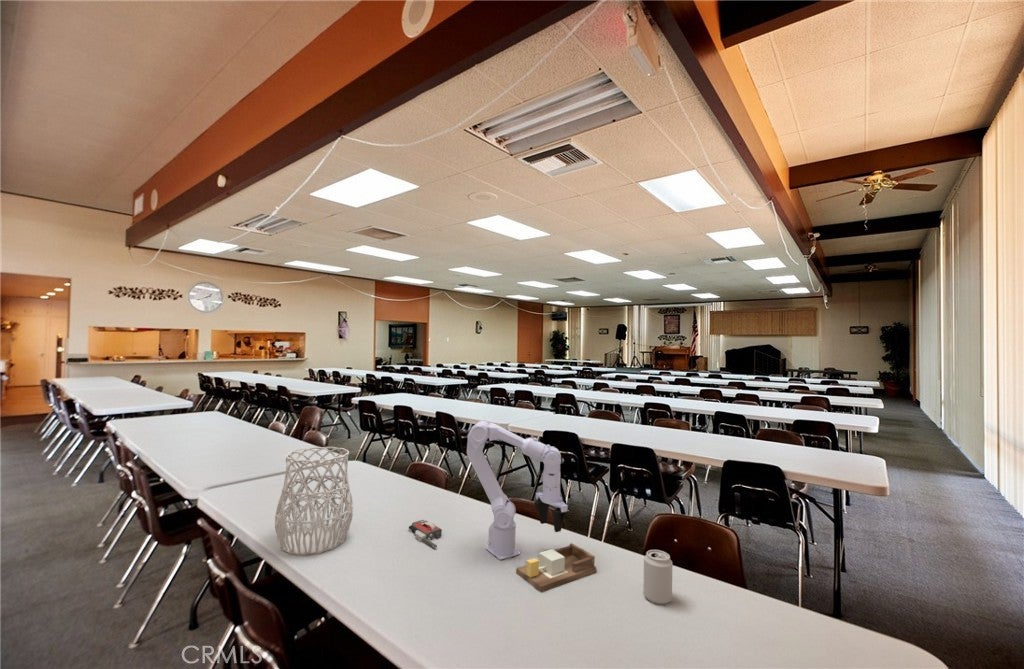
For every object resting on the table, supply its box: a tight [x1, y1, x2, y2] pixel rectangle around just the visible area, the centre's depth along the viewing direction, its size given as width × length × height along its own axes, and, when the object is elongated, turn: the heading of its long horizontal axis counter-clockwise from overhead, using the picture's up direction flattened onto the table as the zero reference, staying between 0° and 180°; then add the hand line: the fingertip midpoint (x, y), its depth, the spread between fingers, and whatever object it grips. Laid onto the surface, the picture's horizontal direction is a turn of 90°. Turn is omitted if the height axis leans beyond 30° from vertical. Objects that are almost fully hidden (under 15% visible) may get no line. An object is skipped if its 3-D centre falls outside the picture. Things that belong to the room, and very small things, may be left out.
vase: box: [274, 446, 354, 556], centre depth 149 cm, size 24×24×30 cm
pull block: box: [526, 548, 565, 577], centre depth 129 cm, size 6×11×4 cm, turn 124°
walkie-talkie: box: [408, 519, 443, 548], centre depth 154 cm, size 9×4×20 cm
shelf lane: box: [515, 542, 597, 593], centre depth 132 cm, size 12×22×4 cm, turn 124°
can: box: [642, 549, 673, 605], centre depth 120 cm, size 8×8×12 cm
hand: (550, 527), depth 143 cm, fingers open, 7 cm apart
